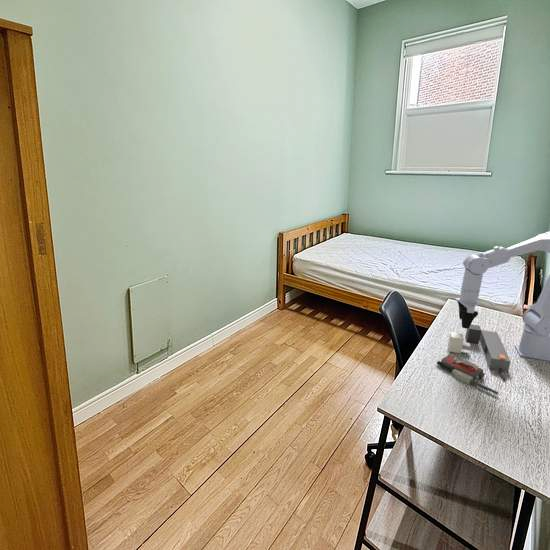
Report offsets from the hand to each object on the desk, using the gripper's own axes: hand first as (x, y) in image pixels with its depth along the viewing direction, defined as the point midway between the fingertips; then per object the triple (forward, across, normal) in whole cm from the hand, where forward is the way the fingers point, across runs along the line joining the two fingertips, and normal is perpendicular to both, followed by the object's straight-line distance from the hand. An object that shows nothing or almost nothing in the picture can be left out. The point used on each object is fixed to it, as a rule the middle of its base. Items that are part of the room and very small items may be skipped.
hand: (463, 323), depth 130 cm
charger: (+10, +3, -1) cm, 10 cm away
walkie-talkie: (+10, +20, +1) cm, 22 cm away
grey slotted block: (+10, +4, +8) cm, 13 cm away
